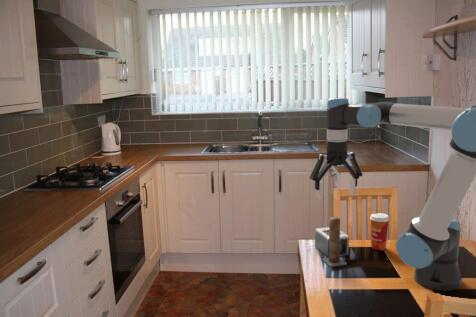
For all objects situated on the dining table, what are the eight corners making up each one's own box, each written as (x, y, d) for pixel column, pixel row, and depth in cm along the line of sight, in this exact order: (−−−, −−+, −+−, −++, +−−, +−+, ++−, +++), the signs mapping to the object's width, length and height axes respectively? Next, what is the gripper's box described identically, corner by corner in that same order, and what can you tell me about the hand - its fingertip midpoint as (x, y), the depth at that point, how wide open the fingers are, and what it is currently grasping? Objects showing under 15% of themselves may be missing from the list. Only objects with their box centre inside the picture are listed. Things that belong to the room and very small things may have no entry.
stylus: (336, 258, 172) (337, 216, 169) (341, 262, 168) (342, 219, 165) (327, 259, 171) (327, 217, 168) (331, 263, 167) (332, 220, 164)
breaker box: (315, 246, 185) (315, 228, 184) (334, 244, 188) (334, 226, 186) (327, 257, 174) (328, 238, 172) (348, 255, 176) (348, 236, 175)
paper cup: (365, 245, 185) (366, 213, 183) (380, 243, 188) (382, 211, 185) (376, 252, 178) (377, 219, 175) (392, 250, 180) (393, 217, 178)
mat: (338, 257, 174) (338, 256, 174) (346, 264, 167) (346, 263, 167) (321, 259, 172) (322, 258, 172) (330, 267, 166) (330, 265, 165)
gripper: (362, 137, 167) (360, 191, 171) (301, 141, 161) (301, 197, 165) (372, 139, 160) (371, 196, 164) (309, 144, 154) (309, 202, 158)
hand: (335, 196), depth 165 cm, fingers open, 13 cm apart
